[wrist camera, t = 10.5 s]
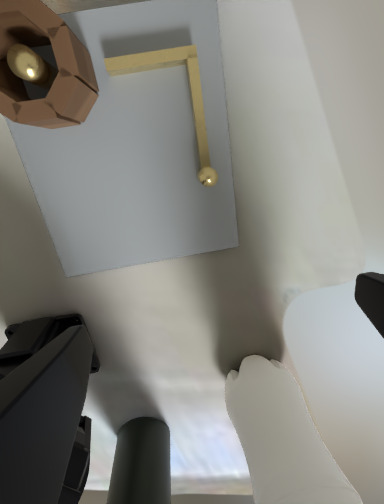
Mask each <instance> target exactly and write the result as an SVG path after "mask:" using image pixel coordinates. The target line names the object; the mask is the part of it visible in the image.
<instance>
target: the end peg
mask: <svg viewBox="0 0 384 504" xmlns="http://www.w3.org/2000/svg"><path fill="white" fill-rule="evenodd" d="M7 62H8V65H9V67H10V69H11V70H12V72H13V73H14V74H15V75H17V76H18V77H20V78H22V79H24V80H26V81H28V82H30V83H32V84H34V85H36V86H38V87H40V88H42V89H45V90H47V91H49V90H50V88H51V86H52V84H53V82H54V80H55V78H56V76H57V74H58V72H59V70H58V69H57V68H55V67H54V66H53V65H51V64H50V63H49V62H47V61H46V60H45V59H43V58H42V57H41V56H39V55H38V54H36V53H35V52H34V51H32V50H31V49H30V48H28V47H27V46H25V45H21V44H16V45H13V46H12V47H11V48H10V49H9V50H8V53H7Z"/></svg>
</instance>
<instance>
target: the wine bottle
mask: <svg viewBox="0 0 384 504" xmlns="http://www.w3.org/2000/svg"><path fill="white" fill-rule="evenodd" d="M107 504H171V477H170V431H169V428H168V427H167V425H166V424H165V423H163V422H162V421H160V420H158V419H155V418H148V417H144V418H137V419H134V420H131V421H129V422H127V423H126V424H125V425H123V426H122V428H121V429H120V431H119V433H118V439H117V445H116V450H115V456H114V462H113V468H112V474H111V480H110V486H109V492H108V498H107Z"/></svg>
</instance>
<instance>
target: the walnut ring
mask: <svg viewBox="0 0 384 504" xmlns="http://www.w3.org/2000/svg"><path fill="white" fill-rule="evenodd" d="M16 44H21V45H25V46H27V47H28V48H32V47H39V46H46V45H52V48H53V52H54V55H55V59H56V62H57V66H58V69H59V72H58V74H57V76H56V78H55V80H54V82H53V84H52V86H51V88H50V90H49V92H48V94H47V96H46V98H43V99H37V100H32V99H30V98H29V97H28V94H27V91H26V88H25V85H24V82H23V79H22V78H20V77H18V76H17V75H15V74H14V73H13V72H12V70H11V69H10V67H9V65H8V62H7V53H8V50H9V49H10V48H11V47H12V46H13V45H16ZM95 92H99V88H98V84H97V80H96V76H95V72H94V68H93V64H92V60H91V55H90V54H89V53H88V50H87V49H86V48H85V47H84V45H83V44H82V43H81V42H80V40H79V39H78V38H77V37H76V35H75V34H74V33H73V32H72V30H71V29H70V28H69V27H68V25H67V24H66V23H65V22H64V20H63V19H61V18H60V17H59V16H58V15H57V14H55V13H54V12H53V11H52V10H51V9H49V8H48V7H47V6H46V5H45V4H43V3H42V2H41V1H40V0H0V113H1V114H3V115H4V116H5V117H7V118H8V119H10V120H11V121H13V122H16V123H19V124H25V125H30V126H36V127H42V128H48V129H56V128H62V127H69V126H76V125H81V123H80V122H85V120H86V118H87V116H88V114H89V113H90V111H91V109H92V107H93V105H94V104H95V102H96V100H97V98H98V96H99V95H97V94H96V93H95Z"/></svg>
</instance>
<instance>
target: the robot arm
mask: <svg viewBox="0 0 384 504" xmlns="http://www.w3.org/2000/svg"><path fill="white" fill-rule="evenodd" d="M355 300H356V302H357V304H358V305H359V307H360V308H361V309H362V311H363V312H364V313H365V314H366V316H367V317H368V318H369V320H370V321H371V322H372V324H373V325H374V326H375V328H376V329H377V330H378V332H379V333H380V334H381V335H382V337H383V338H384V274H379V273H374V272H367V273H362V274H359V275H358V276H357V278H356V286H355ZM74 319H77V320H78V321H75V320H74ZM11 331H13V332H11ZM5 335H6V337H7V339H8V341H7V342H6V343H5V345H4V346H3V347H2V348H1V350H0V504H78V502H79V500H80V497H81V495H82V493H83V490H84V487H85V484H86V481H87V477H88V473H89V465H90V441H91V418H89V417H87V416H84V417H83V416H82V415H81V414H82V410H83V406H84V402H85V398H86V392H87V386H88V380H89V374H90V373H95V372H98V371H99V368H100V363H99V360H98V358H97V355H96V352H95V350H94V347H93V344H92V342H91V339H90V337H89V334H88V331H87V329H86V326H85V323H84V321H83V318H82V316H81V315H80V314H70V315H65V316H59V317H47V318H42V319H36V320H31V321H25V322H23V323H21V324H15V325H10V326H9V327H8V328H7V329H6V330H5Z"/></svg>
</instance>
